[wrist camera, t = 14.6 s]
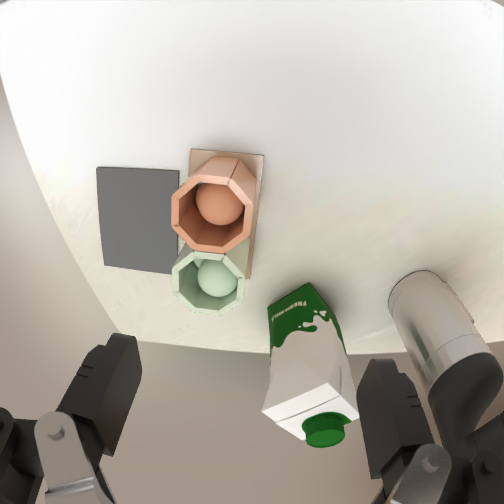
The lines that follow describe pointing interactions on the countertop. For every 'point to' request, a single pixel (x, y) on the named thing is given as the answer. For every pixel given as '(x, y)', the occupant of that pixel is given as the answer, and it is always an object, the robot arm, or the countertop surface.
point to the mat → (137, 218)
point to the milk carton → (309, 370)
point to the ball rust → (219, 204)
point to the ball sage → (216, 278)
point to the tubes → (215, 227)
